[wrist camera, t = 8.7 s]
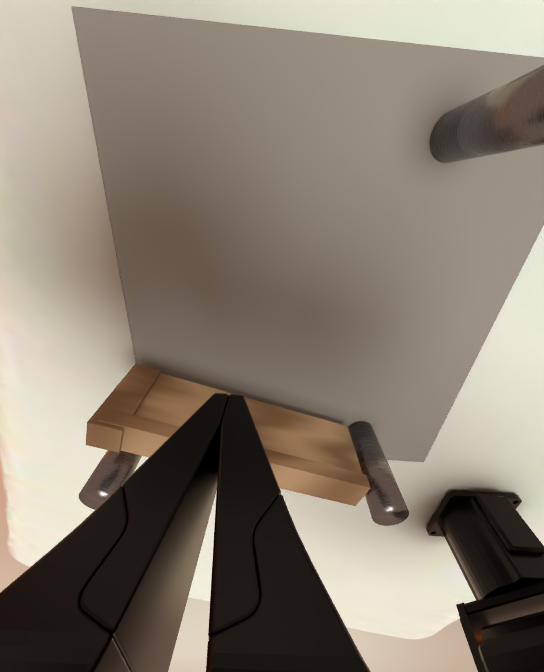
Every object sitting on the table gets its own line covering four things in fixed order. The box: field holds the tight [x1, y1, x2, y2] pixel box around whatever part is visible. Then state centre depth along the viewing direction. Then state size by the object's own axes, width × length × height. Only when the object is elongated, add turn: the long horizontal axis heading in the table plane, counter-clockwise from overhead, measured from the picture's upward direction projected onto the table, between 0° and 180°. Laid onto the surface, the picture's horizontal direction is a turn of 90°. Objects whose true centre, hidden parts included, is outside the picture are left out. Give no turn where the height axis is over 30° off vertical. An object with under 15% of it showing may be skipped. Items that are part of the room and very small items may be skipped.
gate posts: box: [79, 65, 544, 526], centre depth 13 cm, size 20×18×6 cm
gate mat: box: [71, 6, 544, 462], centre depth 16 cm, size 24×22×1 cm
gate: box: [86, 363, 371, 506], centre depth 16 cm, size 15×2×5 cm, turn 70°
